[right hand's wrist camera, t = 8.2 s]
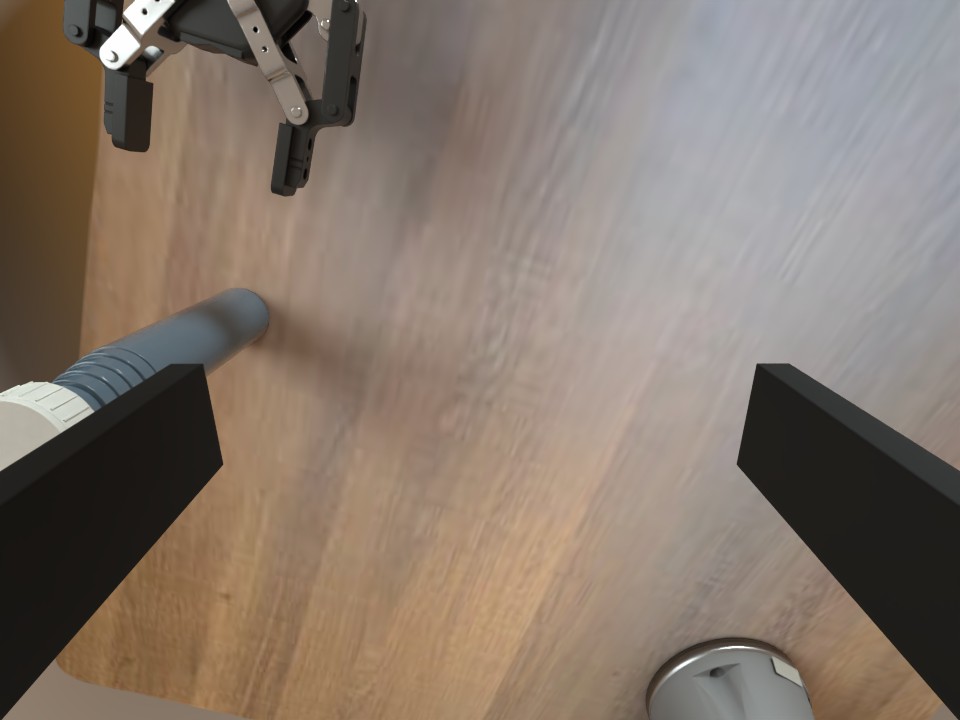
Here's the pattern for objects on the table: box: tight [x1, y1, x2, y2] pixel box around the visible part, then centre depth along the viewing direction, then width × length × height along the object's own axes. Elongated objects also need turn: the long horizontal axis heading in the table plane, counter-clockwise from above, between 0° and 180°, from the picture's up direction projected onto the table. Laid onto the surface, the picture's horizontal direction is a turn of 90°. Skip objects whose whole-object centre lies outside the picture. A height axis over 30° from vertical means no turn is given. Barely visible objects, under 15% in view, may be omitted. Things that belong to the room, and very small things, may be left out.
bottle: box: [51, 288, 269, 412], centre depth 30 cm, size 4×4×20 cm
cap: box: [0, 382, 94, 471], centre depth 21 cm, size 4×4×2 cm
